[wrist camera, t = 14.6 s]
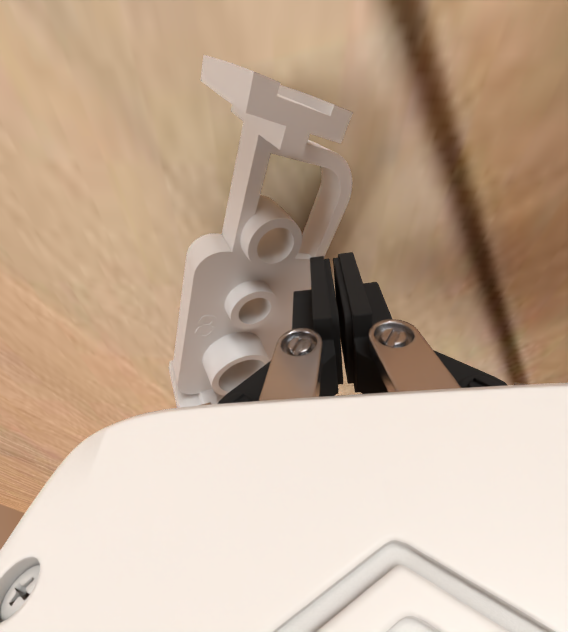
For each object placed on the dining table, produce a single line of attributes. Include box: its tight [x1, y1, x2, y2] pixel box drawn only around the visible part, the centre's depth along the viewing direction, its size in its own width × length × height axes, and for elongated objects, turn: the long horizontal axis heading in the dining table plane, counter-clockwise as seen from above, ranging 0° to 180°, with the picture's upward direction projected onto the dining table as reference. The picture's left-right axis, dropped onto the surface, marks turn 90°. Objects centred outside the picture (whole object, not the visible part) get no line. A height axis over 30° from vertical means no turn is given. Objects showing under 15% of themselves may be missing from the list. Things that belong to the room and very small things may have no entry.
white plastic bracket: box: [169, 55, 353, 408], centre depth 13 cm, size 6×15×5 cm, turn 160°
